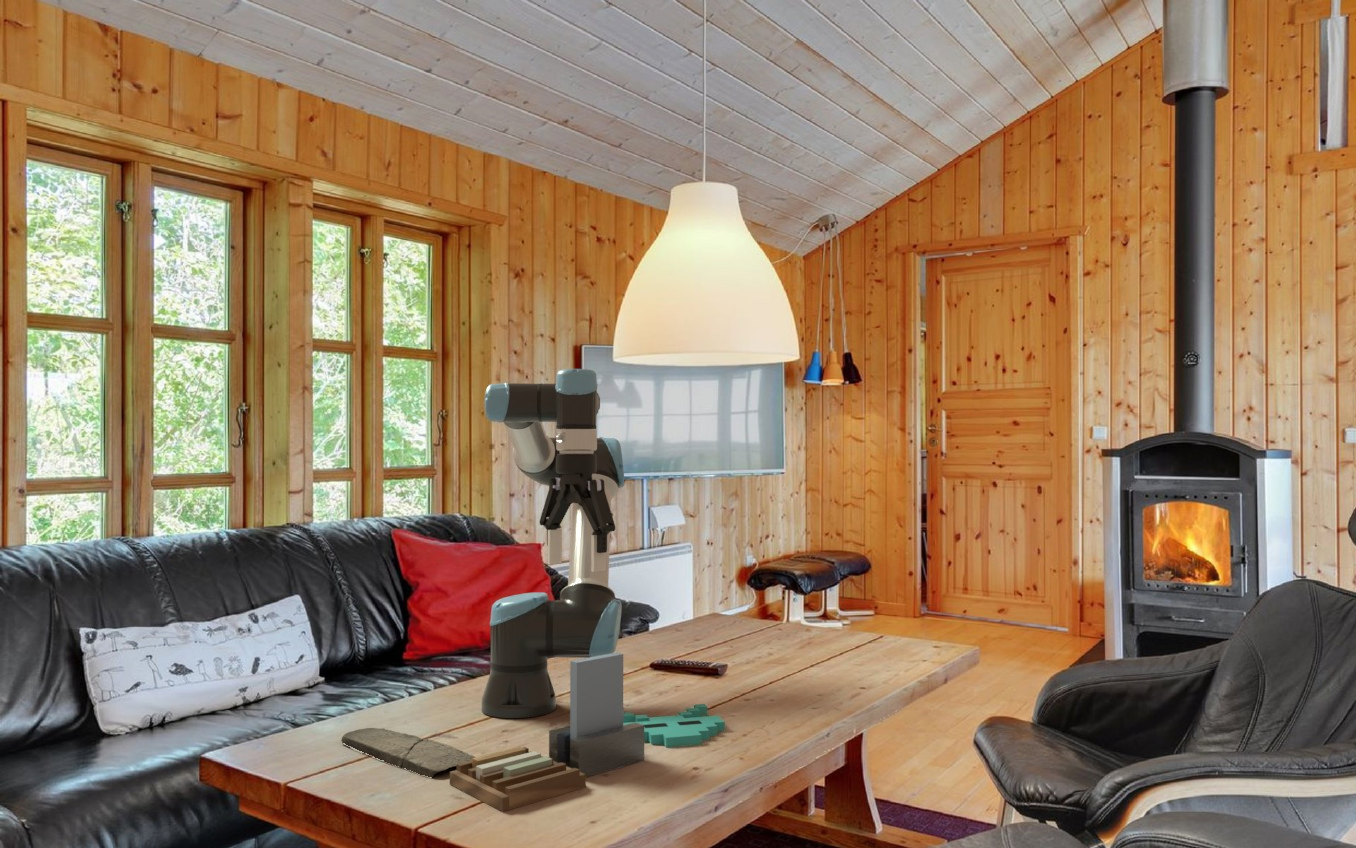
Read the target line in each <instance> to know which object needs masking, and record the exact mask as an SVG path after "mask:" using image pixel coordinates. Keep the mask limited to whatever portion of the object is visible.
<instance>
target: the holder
mask: <svg viewBox="0 0 1356 848" xmlns="http://www.w3.org/2000/svg"><path fill="white" fill-rule="evenodd" d="M548 757H550V758H553V761H555V762H557V763H561V762H562V763H565V764H566V766H567V767H569V768H572V769H573V768H577V769H579V770H580V772H581V773H584V774H586V778H589V777H591V776H595V775H599V774H602V773H605V772H608V771H612V770H615V769H620V768H623V767H626V766H630V765H634V764H637V763H639V762H645V742H644V725H642V724H639V723H636V722H635V723H631V724H627V725H623V726H619V727H615V728H611V729H607V730H603V731H599V732H595V733H591V734H587V735H583V736H579V737H575V738H572V739H570V725H567V726H563V727H560V728H556V729H551V730H548Z"/></svg>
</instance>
